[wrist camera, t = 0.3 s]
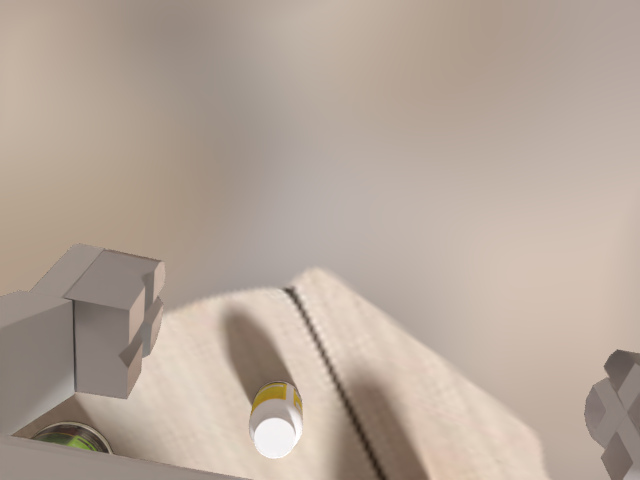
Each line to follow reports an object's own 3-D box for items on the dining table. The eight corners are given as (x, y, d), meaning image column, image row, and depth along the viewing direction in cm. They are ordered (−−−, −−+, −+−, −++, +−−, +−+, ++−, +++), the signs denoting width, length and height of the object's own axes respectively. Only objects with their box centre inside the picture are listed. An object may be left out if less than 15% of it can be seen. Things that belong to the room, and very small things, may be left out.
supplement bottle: (244, 410, 63) (234, 445, 53) (271, 370, 63) (266, 397, 53) (284, 437, 63) (282, 476, 53) (311, 397, 63) (314, 429, 53)
